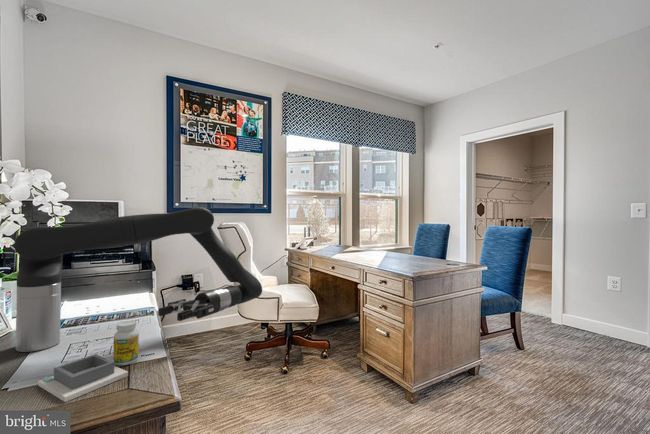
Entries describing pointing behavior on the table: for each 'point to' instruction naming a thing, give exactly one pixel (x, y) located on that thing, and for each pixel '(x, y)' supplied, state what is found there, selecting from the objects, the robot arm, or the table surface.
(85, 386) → the dock
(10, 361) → the table surface
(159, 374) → the table surface
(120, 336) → the supplement bottle
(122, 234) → the robot arm
